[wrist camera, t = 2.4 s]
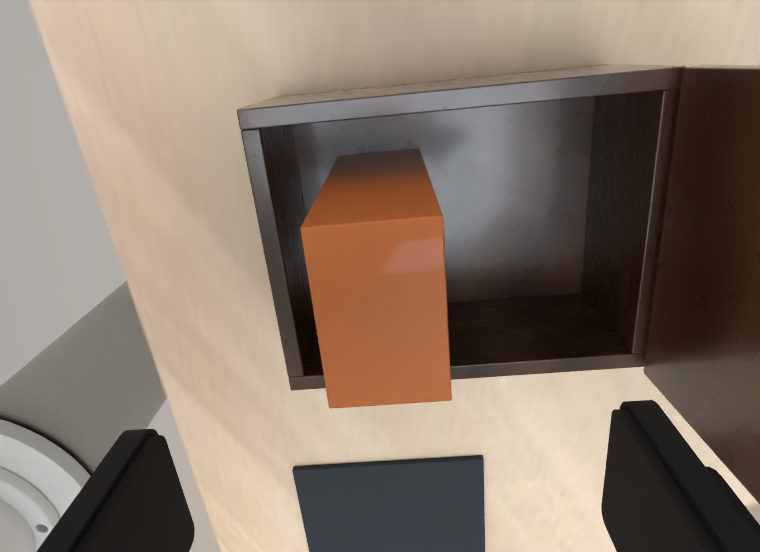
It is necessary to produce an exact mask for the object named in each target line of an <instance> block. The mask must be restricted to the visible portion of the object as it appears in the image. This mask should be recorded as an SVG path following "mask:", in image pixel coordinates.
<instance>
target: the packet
mask: <svg viewBox="0 0 760 552" xmlns="http://www.w3.org/2000/svg"><path fill="white" fill-rule="evenodd" d="M300 230H301V236H302V242H303V248H304V255H305V261H306V267H307V273H308V279H309V286H310V292H311V298H312V304H313V311H314V317H315V323H316V329H317V335H318V342H319V348H320V354H321V360H322V367H323V373H324V379H325V385H326V391H327V398H328V404H329V408H344V407H359V406H375V405H390V404H405V403H420V402H436V401H450V400H451V399H452V398H451V375H450V353H449V331H448V308H447V286H446V264H445V242H444V219H443V214H442V211H441V209H440V206H439V203H438V200H437V197H436V194H435V191H434V188H433V186H432V183H431V180H430V177H429V174H428V171H427V168H426V166H425V163H424V160H423V157H422V154H421V151H420V149H408V150H397V151H386V152H375V153H364V154H353V155H343V156H338V158H337V160H336V162H335V163H334V165H333V167H332V169H331V171H330V173H329V175H328V177H327V179H326V181H325V182H324V184H323V186H322V188H321V190H320V192H319V194H318V196H317V198H316V199H315V201H314V203H313V205H312V207H311V209H310V211H309V213H308V215H307V216H306V218H305V220H304V222H303V224H302V226H301V228H300Z"/></svg>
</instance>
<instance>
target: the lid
mask: <svg viewBox="0 0 760 552" xmlns="http://www.w3.org/2000/svg"><path fill="white" fill-rule="evenodd" d="M644 374H645V375H646V376H647V377H648V378H649V379H650V380H651V382H652V383H653V384H654V385H655V386H656V387H657V388H658V390H659V391H660V392H661V393H662V394H663V395H664V396H665V397H666V399H667V400H668V401H669V402H670V403H671V404H672V405H673V407H674V408H675V409H676V410H677V411H678V412H679V413H680V414H681V416H682V417H683V418H684V419H685V420H686V421H687V422H688V424H689V425H690V426H691V427H692V428H693V429H694V430H695V431H696V433H697V434H698V435H699V436H700V437H701V438H702V439H703V441H704V442H705V443H706V444H707V445H708V446H709V447H710V448H711V450H712V451H713V452H714V453H715V454H716V455H717V456H718V458H719V459H720V460H721V461H722V462H723V463H724V464H725V465H726V467H727V468H728V469H729V470H730V471H731V472H732V473H733V475H734V476H735V477H736V478H737V479H738V480H739V481H740V482H741V484H742V485H743V486H744V487H745V488H746V489H747V490H748V492H749V493H750V494H751V495H752V496H753V497H754V498H755V499H756V501H757V502H758V503H759V504H760V66H737V65H701V66H691V67H685V68H684V70H683V78H682V85H681V93H680V100H679V108H678V116H677V123H676V131H675V138H674V146H673V154H672V161H671V169H670V176H669V184H668V192H667V199H666V207H665V214H664V222H663V230H662V237H661V245H660V252H659V260H658V267H657V275H656V283H655V290H654V298H653V305H652V313H651V321H650V328H649V336H648V343H647V351H646V359H645V366H644Z"/></svg>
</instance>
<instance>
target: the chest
mask: <svg viewBox="0 0 760 552" xmlns="http://www.w3.org/2000/svg"><path fill="white" fill-rule="evenodd" d="M685 67H686V66H651V65H597V66H587V67H577V68H567V69H556V70H546V71H536V72H526V73H516V74H505V75H495V76H485V77H475V78H464V79H454V80H444V81H434V82H423V83H413V84H403V85H393V86H383V87H372V88H362V89H352V90H342V91H331V92H321V93H311V94H301V95H290V96H280V97H275V98H272V99H269V100H266V101H262V102H259V103H256V104H253V105H250V106H247V107H244V108H241V109H238V110H237V115H238V120H239V125H240V129H241V135H242V140H243V145H244V150H245V155H246V161H247V166H248V171H249V176H250V181H251V186H252V192H253V197H254V202H255V207H256V212H257V217H258V223H259V228H260V233H261V238H262V243H263V248H264V254H265V259H266V264H267V269H268V274H269V279H270V285H271V290H272V295H273V300H274V305H275V310H276V316H277V321H278V326H279V331H280V336H281V341H282V347H283V352H284V357H285V362H286V367H287V372H288V376H289V383H290V388H291V390H304V389H319V388H326V385H325V379H324V373H323V367H322V360H321V354H320V348H319V342H318V335H317V329H316V323H315V317H314V311H313V304H312V298H311V292H310V286H309V279H308V273H307V267H306V261H305V255H304V248H303V242H302V236H301V230H300V228H301V226H302V224H303V222H304V220H305V218H306V216H307V215H308V213H309V211H310V209H311V207H312V205H313V203H314V201H315V199H316V198H317V196H318V194H319V192H320V190H321V188H322V186H323V184H324V182H325V181H326V179H327V177H328V175H329V173H330V171H331V169H332V167H333V165H334V163H335V162H336V160H337V158H338V156H343V155H353V154H364V153H375V152H386V151H397V150H408V149H420V151H421V154H422V157H423V160H424V163H425V166H426V168H427V171H428V174H429V177H430V180H431V183H432V186H433V188H434V191H435V194H436V197H437V200H438V203H439V206H440V209H441V211H442V214H443V219H444V242H445V264H446V286H447V308H448V331H449V353H450V375H451V380H452V379H467V378H482V377H497V376H511V375H526V374H541V373H556V372H570V371H585V370H600V369H615V368H630V367H644V366H645V359H646V351H647V343H648V336H649V328H650V321H651V313H652V305H653V298H654V290H655V283H656V275H657V267H658V260H659V252H660V245H661V237H662V230H663V222H664V214H665V207H666V199H667V192H668V184H669V176H670V169H671V161H672V154H673V146H674V138H675V131H676V123H677V116H678V108H679V100H680V93H681V85H682V78H683V70H684V68H685Z"/></svg>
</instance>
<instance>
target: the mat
mask: <svg viewBox="0 0 760 552" xmlns="http://www.w3.org/2000/svg"><path fill="white" fill-rule="evenodd" d="M293 475H294V480H295V485H296V489H297V494H298V499H299V504H300V509H301V513H302V518H303V523H304V528H305V533H306V538H307V542H308V547H309V552H485V526H484V463H483V456H467V457H451V458H434V459H417V460H400V461H384V462H367V463H350V464H334V465H317V466H300V467H293Z"/></svg>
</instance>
